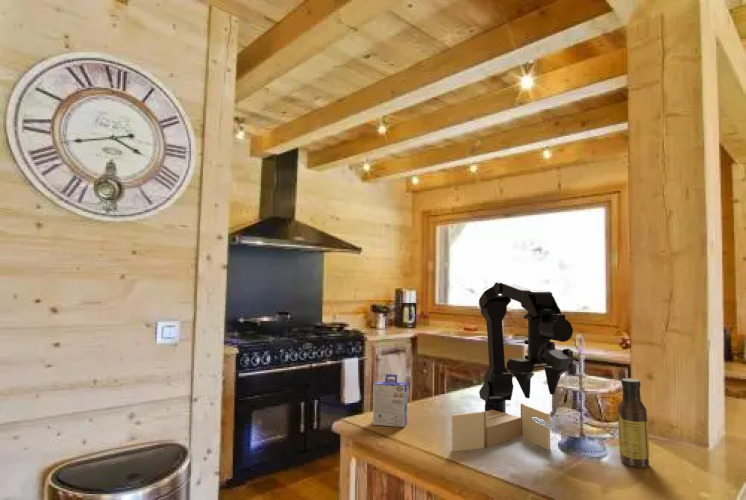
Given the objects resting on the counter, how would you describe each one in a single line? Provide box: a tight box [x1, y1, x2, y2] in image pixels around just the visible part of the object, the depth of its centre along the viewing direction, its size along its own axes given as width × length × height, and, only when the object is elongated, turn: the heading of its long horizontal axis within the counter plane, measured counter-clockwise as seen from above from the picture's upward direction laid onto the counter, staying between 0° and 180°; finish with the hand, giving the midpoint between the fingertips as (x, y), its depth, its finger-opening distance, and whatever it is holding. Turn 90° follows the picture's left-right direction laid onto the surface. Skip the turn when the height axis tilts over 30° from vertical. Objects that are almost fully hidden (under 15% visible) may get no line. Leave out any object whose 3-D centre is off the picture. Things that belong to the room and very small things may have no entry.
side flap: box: [520, 403, 551, 450], centre depth 123 cm, size 11×1×9 cm, turn 21°
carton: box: [484, 410, 521, 448], centre depth 128 cm, size 15×10×5 cm, turn 128°
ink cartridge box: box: [372, 373, 408, 428], centre depth 139 cm, size 10×6×14 cm, turn 78°
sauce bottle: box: [617, 377, 650, 469], centre depth 110 cm, size 6×6×20 cm
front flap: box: [451, 411, 487, 452], centre depth 118 cm, size 1×10×9 cm, turn 108°
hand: (539, 396), depth 121 cm, fingers open, 9 cm apart
